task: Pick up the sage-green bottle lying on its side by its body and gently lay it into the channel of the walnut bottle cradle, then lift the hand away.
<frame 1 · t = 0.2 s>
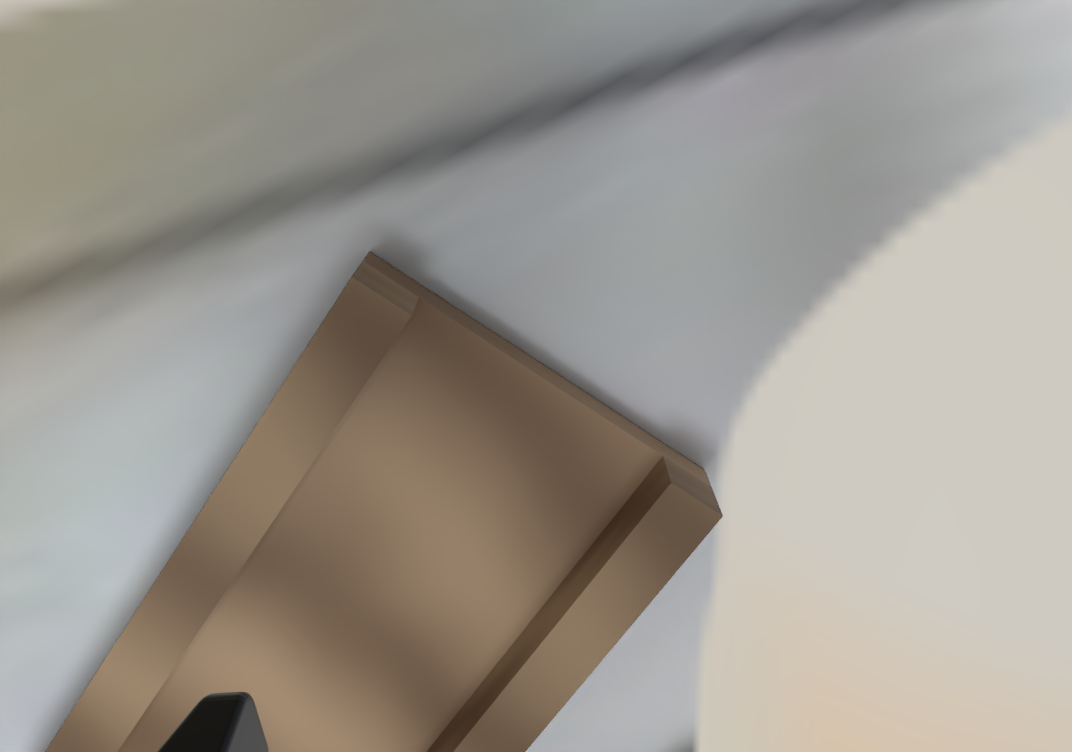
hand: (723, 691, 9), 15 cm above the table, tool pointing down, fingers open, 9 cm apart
cradle: (353, 625, 27), on the table
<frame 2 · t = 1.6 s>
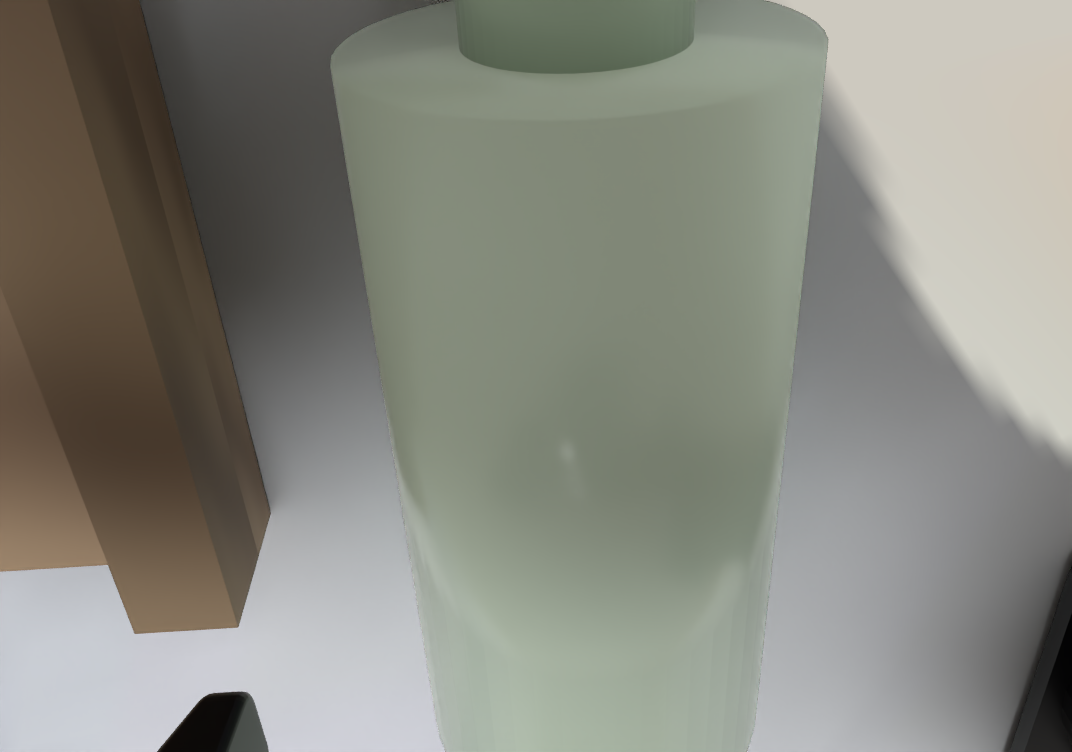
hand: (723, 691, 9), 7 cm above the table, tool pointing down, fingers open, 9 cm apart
bottle: (632, 336, 15), on the table, tilted 20°
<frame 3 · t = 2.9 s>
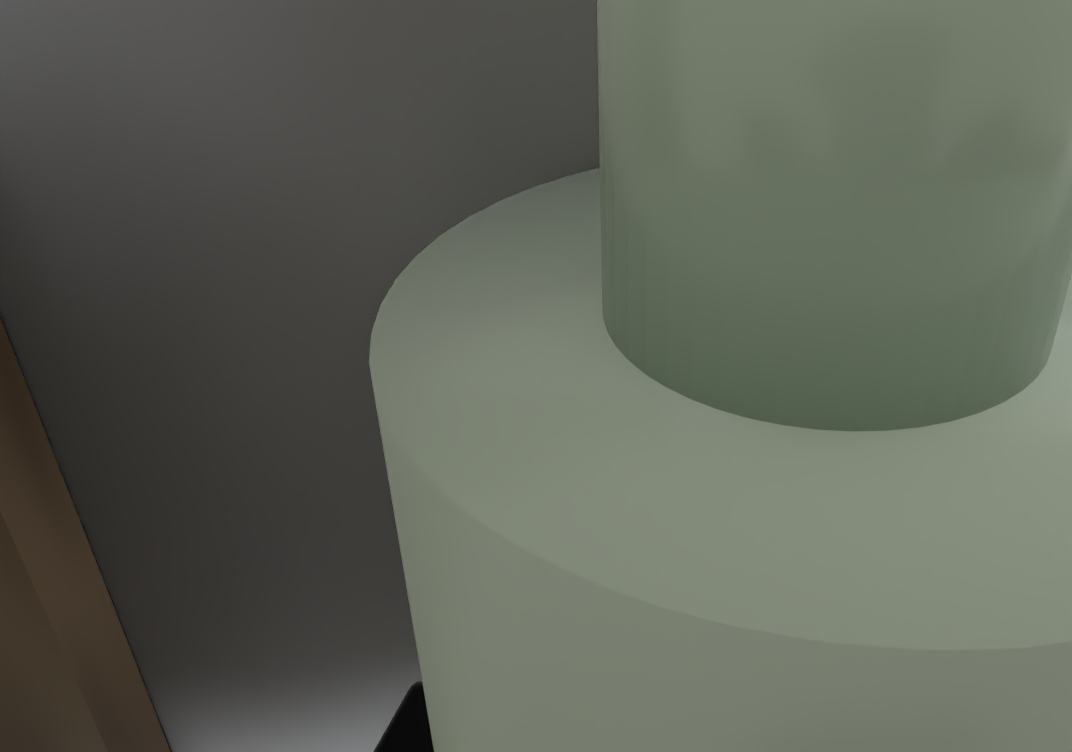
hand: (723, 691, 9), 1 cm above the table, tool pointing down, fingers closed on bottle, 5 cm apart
bottle: (702, 610, 10), on the table, touching gripper
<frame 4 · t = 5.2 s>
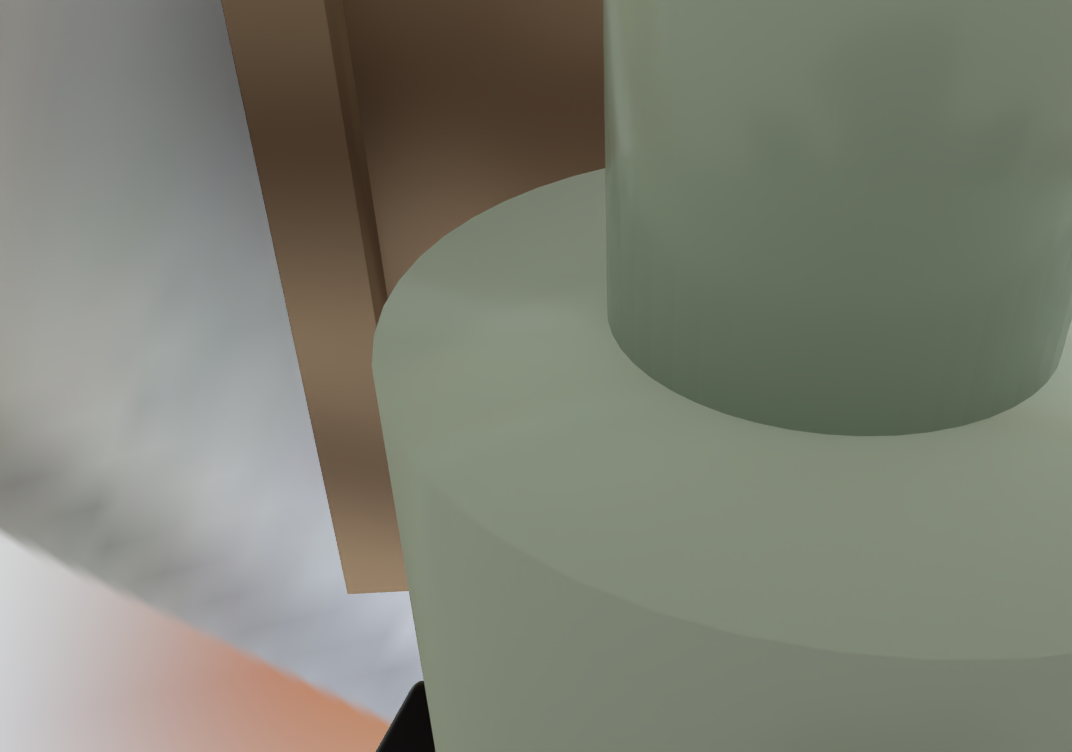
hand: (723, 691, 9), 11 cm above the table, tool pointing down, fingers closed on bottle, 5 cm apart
cradle: (563, 124, 18), on the table
bottle: (706, 613, 10), point 10 cm above the table, touching gripper
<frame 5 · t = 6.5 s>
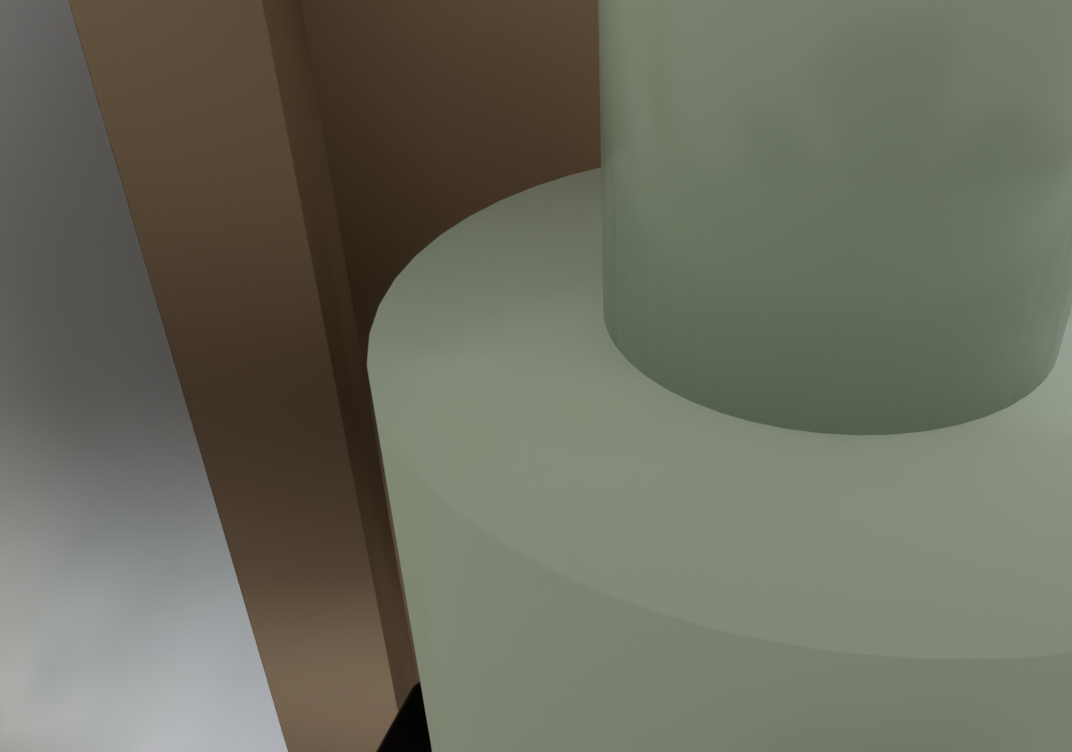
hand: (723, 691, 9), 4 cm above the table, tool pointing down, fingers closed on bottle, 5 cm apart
cradle: (654, 318, 12), on the table
bottle: (704, 613, 10), point 3 cm above the table, touching gripper
when the fingers open (3 cm above the table, at t = 7.5 s): bottle drops 1 cm, resting on cradle.
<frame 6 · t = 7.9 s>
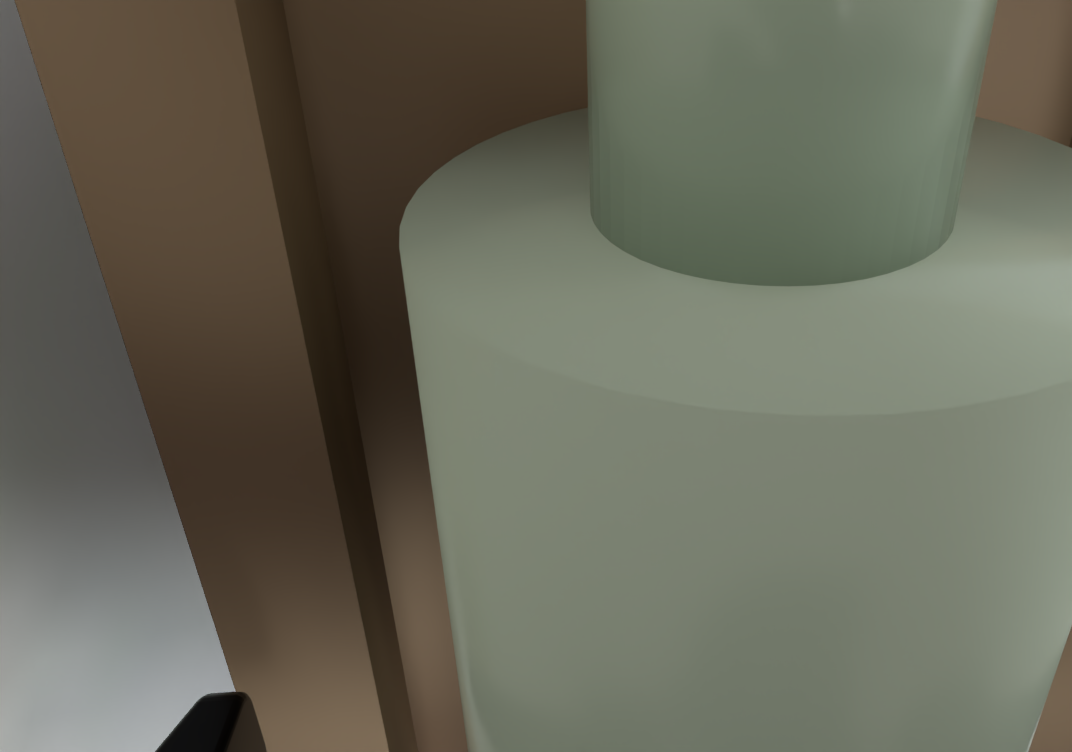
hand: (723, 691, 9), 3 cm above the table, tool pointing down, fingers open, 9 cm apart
cradle: (670, 362, 12), on the table
bottle: (683, 518, 12), point 1 cm above the table, touching cradle
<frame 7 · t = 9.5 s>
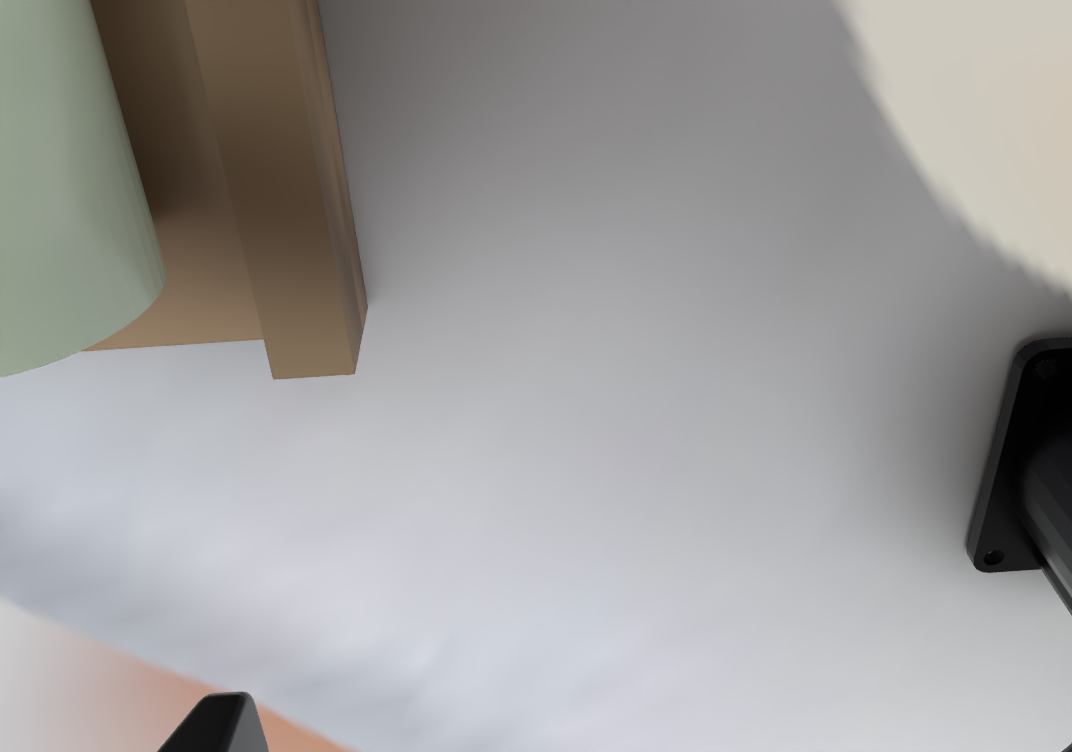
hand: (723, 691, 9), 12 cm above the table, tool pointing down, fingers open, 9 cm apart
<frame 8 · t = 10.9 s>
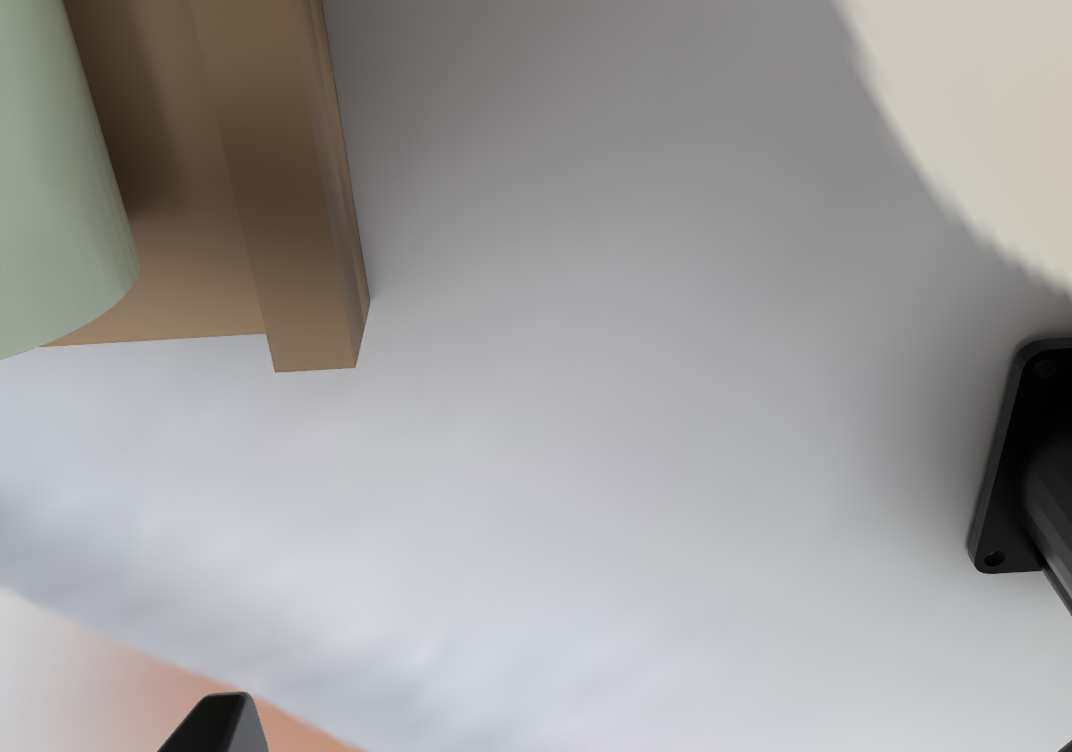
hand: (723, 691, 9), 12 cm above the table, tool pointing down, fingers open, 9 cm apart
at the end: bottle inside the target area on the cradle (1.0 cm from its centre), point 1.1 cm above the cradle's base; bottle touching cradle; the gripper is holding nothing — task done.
